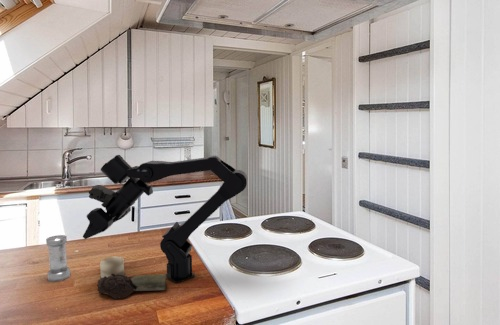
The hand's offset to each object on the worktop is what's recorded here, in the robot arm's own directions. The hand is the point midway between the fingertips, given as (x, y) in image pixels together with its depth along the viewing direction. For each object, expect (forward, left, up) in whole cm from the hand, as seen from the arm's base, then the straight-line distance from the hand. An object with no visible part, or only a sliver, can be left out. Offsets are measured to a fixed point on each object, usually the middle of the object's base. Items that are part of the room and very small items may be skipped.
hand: (91, 232), depth 100 cm
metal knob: (+8, -7, -14) cm, 17 cm away
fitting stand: (-4, +4, -13) cm, 15 cm away
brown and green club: (-5, +17, -14) cm, 22 cm away
